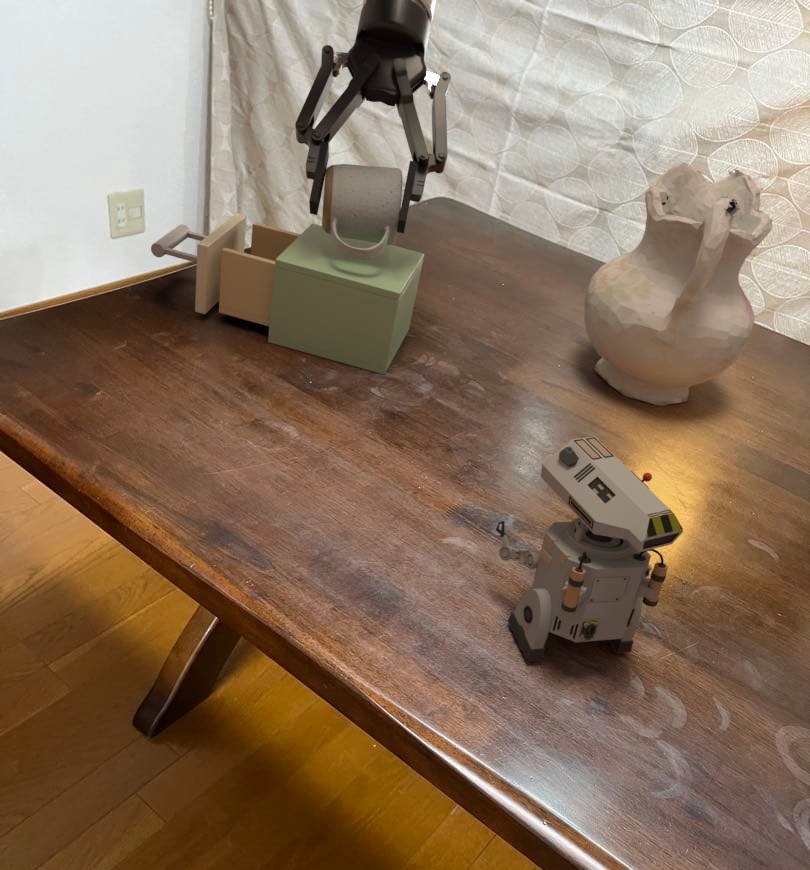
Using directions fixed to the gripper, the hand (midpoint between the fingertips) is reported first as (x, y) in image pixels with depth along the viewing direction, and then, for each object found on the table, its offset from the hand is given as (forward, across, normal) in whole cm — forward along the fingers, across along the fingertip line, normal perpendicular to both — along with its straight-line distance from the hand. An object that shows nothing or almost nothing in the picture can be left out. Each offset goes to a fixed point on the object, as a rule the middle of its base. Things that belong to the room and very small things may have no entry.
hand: (357, 217), depth 89 cm
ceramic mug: (0, 0, +5) cm, 5 cm away
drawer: (+6, -12, +14) cm, 19 cm away
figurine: (+38, +23, -17) cm, 47 cm away
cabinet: (+8, 0, +13) cm, 15 cm away
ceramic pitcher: (+6, +37, +15) cm, 40 cm away
